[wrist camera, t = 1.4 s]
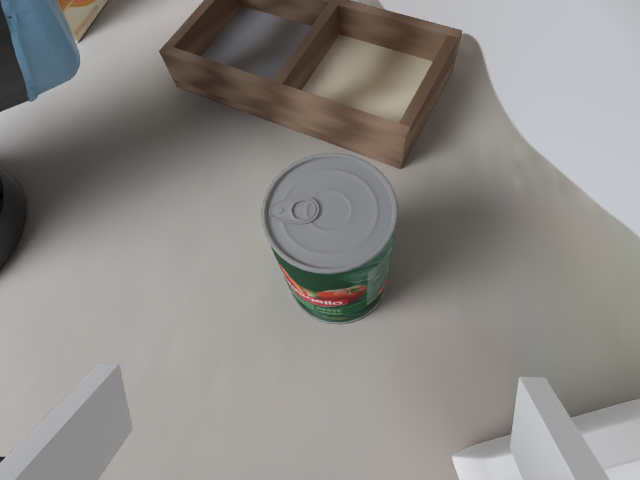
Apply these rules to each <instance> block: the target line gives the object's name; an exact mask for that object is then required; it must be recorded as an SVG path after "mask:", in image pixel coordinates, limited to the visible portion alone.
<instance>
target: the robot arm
mask: <svg viewBox="0 0 640 480" xmlns="http://www.w3.org/2000/svg"><path fill="white" fill-rule="evenodd" d="M79 65H80V55H79V50H78V47H77V45H76V42H75V39H74V37H73V34H72V32H71V29H70V27H69V25H68V22H67V20H66V18H65V15H64V13H63V11H62V9H61V7H60V4H59V2H58V0H0V112H1V111H4V110H6V109H9V108H11V107H14V106H16V105H19V104H21V103H24V102H26V101H30V102H32V101H34V100H35V99H37V97H38V95H39V94H41V93H43V92H46V91H48V90H50V89H52V88H54V87H56V86H58V85H60V84H63V83H65V82H67V81H69V80H70V79H71V78H72V77H74V76H75V74H76V73H77V70H78V68H79ZM25 217H26V201H25V197H24V193H23V191H22V189H21V187H20V185H19V184H18V182H17V181H16V180H15V179H14V178H13V177H12V176H11V175H10V174H8V173H7V172H6V171H4V170H3V169H2V168H1V167H0V268H1V267H2V266H3V264H4V263H5V262H6V260H7V259H8V258H9V256H10V255H11V253H12V252H13V250H14V248H15V246H16V245H17V243H18V241H19V238H20V236H21V233H22V230H23V227H24V223H25ZM132 429H133V428H132V423H131V418H130V414H129V409H128V404H127V399H126V394H125V390H124V385H123V380H122V375H121V370H120V366H119V364H113V363H97V364H96V365H95V367H94V368H93V369H92V370H91V371H90V372H89V373H88V374H87V375H86V376H85V377H84V378H83V379H82V380H81V381H80V382H79V383H78V384H77V385H76V386H75V387H74V388H73V389H72V390H71V391H70V392H69V393H68V394H67V395H66V396H65V397H64V398H63V399H62V400H61V401H60V402H59V403H58V404H57V405H56V406H55V407H54V408H53V409H52V410H51V411H50V412H49V413H48V415H47V416H46V417H45V418H44V419H43V420H42V421H41V422H40V423H39V424H38V425H37V426H36V427H35V428H34V429H33V430H32V431H31V432H30V433H29V434H28V435H27V436H26V437H25V438H24V439H23V440H22V441H21V442H20V443H19V444H18V445H17V446H16V447H15V448H14V449H13V450H12V451H11V452H10V453H9V454H8V455H7V456H6V457H0V480H98V479H99V477H100V476H101V474H102V473H103V472H104V470H105V469H106V467H107V466H108V464H109V463H110V461H111V460H112V458H113V457H114V455H115V454H116V453H117V451H118V450H119V448H120V447H121V445H122V444H123V442H124V441H125V439H126V438H127V437H128V435H129V434H130V432H131V431H132ZM510 449H511V452H512V454H513V456H514V459H515V461H516V464H517V466H518V469H519V471H520V474H521V476H522V478H523V480H610V479H609V478H608V476H607V475H606V473H605V472H604V470H603V468H602V467H601V465H600V464H599V462H598V460H597V459H596V457H595V456H594V454H593V453H592V451H591V449H590V448H589V446H588V445H587V443H586V441H585V440H584V438H583V437H582V435H581V433H580V432H579V430H578V429H577V427H576V426H575V424H574V422H573V421H572V419H571V418H570V416H569V414H568V413H567V411H566V410H565V408H564V407H563V405H562V403H561V402H560V400H559V399H558V397H557V395H556V394H555V392H554V391H553V389H552V388H551V386H550V384H549V383H548V381H547V380H546V378H545V377H519V383H518V390H517V397H516V405H515V412H514V419H513V426H512V434H511V441H510Z"/></svg>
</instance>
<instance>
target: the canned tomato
mask: <svg viewBox="0 0 640 480" xmlns="http://www.w3.org/2000/svg"><path fill="white" fill-rule="evenodd" d="M261 217H262V226H263V230H264V233H265V236H266V238H267V240H268V242H269V243H270V245H271V248H272V250H273V252H274V255H275V256H276V259H277V261H278V264H279V265H280V268H281V270H282V272H283V274H284V277H285V279H286V281H287V283H288V285H289V288H290V290H291V292H292V295H293V297H294V299H295V301H296V303H297V304H298V305H299V306H300V308H301V309H302V310H303V311H304V312H306V313H307V314H308V315H309V316H311V317H313V318H315V319H317V320H319V321H322V322H325V323H329V324H346V323H351V322H354V321H357V320H360V319H362V318H363V317H365V316H367V315H368V314H370V313H371V312H372V311H373V310H374V309H375V308H376V307H377V306H378V304H379V303H380V302H381V300H382V298H383V296H384V294H385V292H386V288H387V283H388V274H389V267H390V260H391V254H392V248H393V240H394V234H395V227H396V223H397V219H398V205H397V200H396V196H395V193H394V190H393V188H392V186H391V184H390V182H389V181H388V180H387V179H386V177H385V176H384V175H383V173H381V172H380V171H379V170H378V169H377V168H376V167H374V166H373V165H371V164H370V163H368V162H366V161H365V160H362V159H360V158H357V157H354V156H351V155H346V154H340V153H325V154H317V155H313V156H310V157H306V158H303V159H301V160H299V161H297V162H295V163H293V164H291V165H290V166H289V167H287V168H286V169H284V170H283V171H282V172H281V173H280V174H279V175H278V176H277V177H276V178H275V179H274V180H273V182H272V183H271V185H270V187H269V188H268V190H267V192H266V195H265V197H264V200H263V204H262V211H261Z"/></svg>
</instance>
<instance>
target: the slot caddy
mask: <svg viewBox="0 0 640 480" xmlns="http://www.w3.org/2000/svg"><path fill="white" fill-rule="evenodd" d="M461 34H462V30H458V29H455V28H451V27H447V26H444V25H440V24H436V23H432V22H429V21H425V20H421V19H417V18H414V17H409V16H406V15H402V14H398V13H394V12H391V11H387V10H383V9H380V8H376V7H372V6H368V5H365V4H361V3H357V2H353V1H350V0H204V1H203V2H202V3H201V5H200V6H199V7H198V8H197V9H196V10H195V11H194V12H193V14H192V15H191V16H190V17H189V18H188V19H187V20H186V21H185V23H184V24H183V25H182V26H181V27H180V28H179V29H178V31H177V32H176V33H175V34H174V35H173V36H172V37H171V38H170V40H169V41H168V42H167V43H166V44H165V45H164V46H163V47H162V49H161V50H160V51H159V52H160V54H161V56H162V58H163V60H164V62H165V64H166V66H167V68H168V70H169V72H170V74H171V76H172V78H173V80H174V82H175V84H176V86H177V87H179V88H182V89H185V90H187V91H190V92H193V93H195V94H198V95H201V96H204V97H206V98H209V99H212V100H215V101H217V102H220V103H223V104H225V105H228V106H231V107H234V108H236V109H239V110H242V111H244V112H247V113H250V114H253V115H255V116H258V117H261V118H263V119H266V120H269V121H272V122H274V123H277V124H280V125H282V126H285V127H288V128H291V129H293V130H296V131H299V132H301V133H304V134H307V135H310V136H312V137H315V138H318V139H321V140H323V141H326V142H329V143H331V144H334V145H337V146H340V147H342V148H345V149H348V150H350V151H353V152H356V153H359V154H361V155H364V156H367V157H369V158H372V159H375V160H378V161H380V162H383V163H386V164H388V165H391V166H394V167H397V168H399V169H401V168H402V166H403V164H404V162H405V160H406V158H407V156H408V154H409V152H410V150H411V149H412V147H413V145H414V143H415V141H416V139H417V137H418V135H419V133H420V131H421V129H422V128H423V126H424V124H425V122H426V120H427V118H428V116H429V114H430V112H431V110H432V108H433V106H434V105H435V103H436V101H437V99H438V97H439V95H440V93H441V91H442V89H443V87H444V85H445V84H446V82H447V80H448V78H449V76H450V74H451V72H452V70H453V67H454V63H455V59H456V55H457V50H458V46H459V42H460V38H461Z"/></svg>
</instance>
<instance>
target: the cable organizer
mask: <svg viewBox="0 0 640 480" xmlns="http://www.w3.org/2000/svg"><path fill="white" fill-rule="evenodd" d="M571 419H572V421H573V422H574V424H575V426H576V427H577V429H578V430H579V432H580V433H581V435H582V437H583V438H584V440H585V441H586V443H587V445H588V446H589V448H590V449H591V451H592V453H593V454H594V456H595V457H596V459H597V460H598V462H599V464H600V465H601V467H602V468H603V470H604V472H605V473H606V475H607V476H608V478H609V479H610V480H640V399H636V400H632V401H628V402H624V403H621V404H617V405H614V406H610V407H606V408H603V409H599V410H596V411H592V412H589V413H585V414H582V415H578V416H574V417H571ZM510 441H511V435H507V436H503V437H500V438H496V439H493V440H489V441H486V442H482V443H479V444H476V445H473V446H470V447H467V448H465V449H462V450H460V451H458V452H456V453H455V454H453V455H452V460H453V463H454V466H455V468H456V471H457V474H458V477H459V480H523V478H522V476H521V474H520V471H519V469H518V466H517V464H516V461H515V459H514V456H513V454H512V452H511V449H510Z"/></svg>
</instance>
